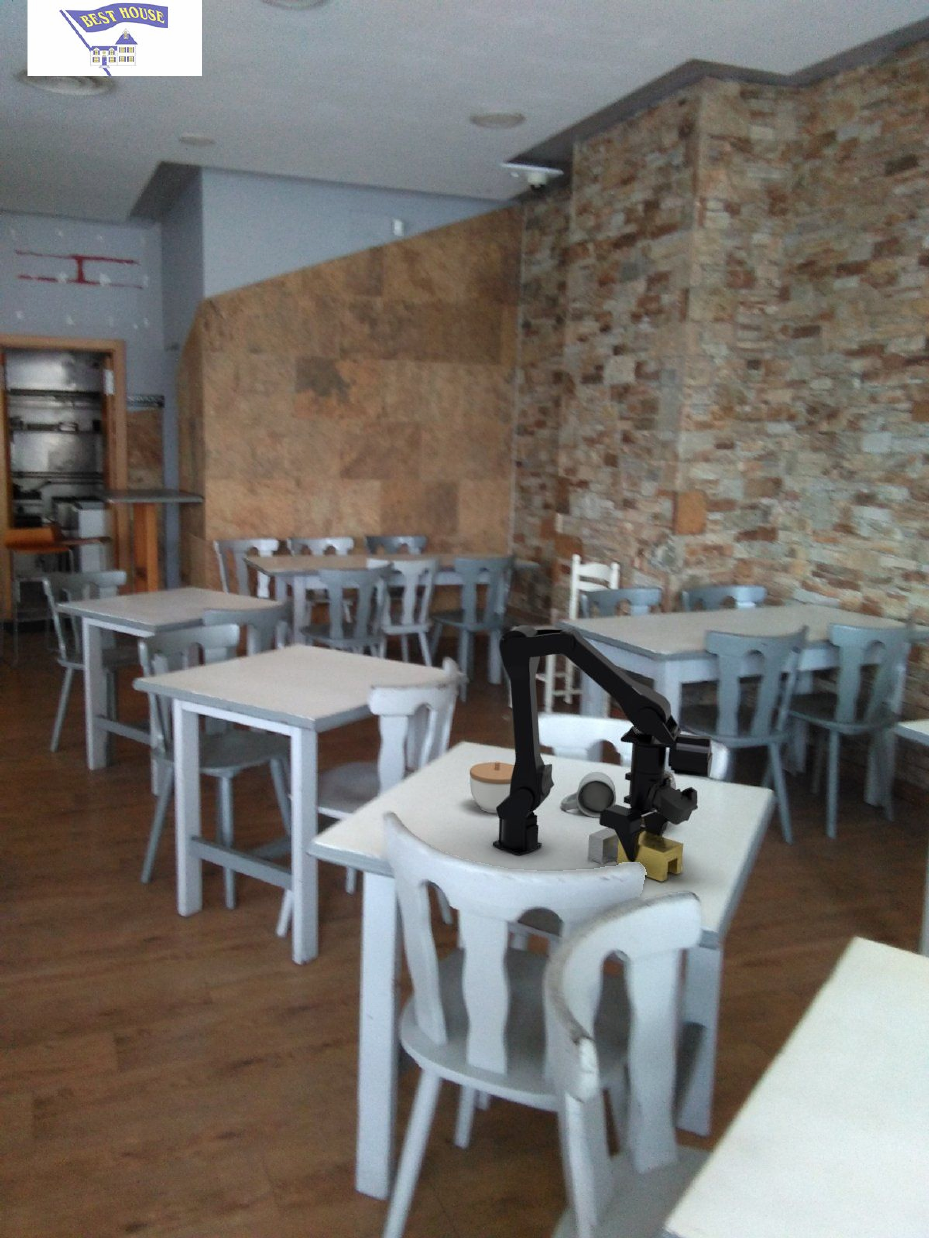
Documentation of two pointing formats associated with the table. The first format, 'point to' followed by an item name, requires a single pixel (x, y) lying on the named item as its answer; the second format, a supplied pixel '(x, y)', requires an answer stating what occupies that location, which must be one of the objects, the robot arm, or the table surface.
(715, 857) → the table surface
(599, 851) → the rail
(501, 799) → the lidded jar
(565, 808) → the ceramic mug
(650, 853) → the block
